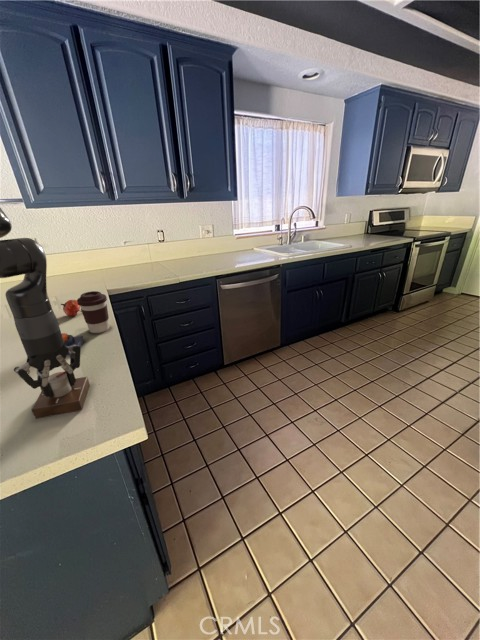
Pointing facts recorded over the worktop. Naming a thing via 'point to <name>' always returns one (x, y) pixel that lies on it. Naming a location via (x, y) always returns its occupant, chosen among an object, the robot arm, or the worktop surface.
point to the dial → (59, 384)
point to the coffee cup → (94, 311)
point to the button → (64, 336)
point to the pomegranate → (71, 308)
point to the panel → (62, 401)
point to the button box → (74, 341)
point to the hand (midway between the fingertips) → (60, 389)
